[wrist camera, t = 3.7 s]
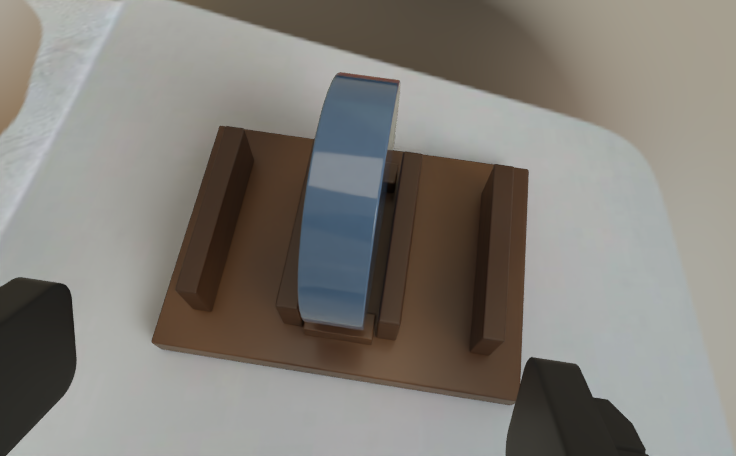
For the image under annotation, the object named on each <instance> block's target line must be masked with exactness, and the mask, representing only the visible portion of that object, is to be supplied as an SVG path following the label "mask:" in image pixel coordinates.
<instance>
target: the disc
mask: <svg viewBox="0 0 736 456" xmlns="http://www.w3.org/2000/svg"><path fill="white" fill-rule="evenodd" d="M399 98H400V81H399V80H395V79H387V78H380V77H372V76H365V75H358V74H350V73H343V72H340V73H337V74H336V75H335V77H334V79H333V80H332V82H331V84H330V87H329V89H328V92H327V95H326V98H325V101H324V104H323V108H322V111H321V115H320V119H319V123H318V127H317V131H316V136H315V140H314V145H313V150H312V156H311V161H310V166H309V172H308V178H307V185H306V192H305V199H304V206H303V214H302V222H301V232H300V243H299V256H298V286H297V290H298V305H299V312H300V316H301V318H302V320H303V321H305V322H309V323H315V324H322V325H328V326H335V327H341V328H347V329H354V330H360V331H362V330H364V328H365V324H366V320H367V315H368V310H369V304H370V299H371V293H372V287H373V281H374V275H375V269H376V263H377V257H378V251H379V244H380V238H381V231H382V225H383V218H384V211H385V204H386V198H387V191H388V184H389V177H390V170H391V162H392V155H393V147H394V140H395V132H396V124H397V116H398V107H399Z"/></svg>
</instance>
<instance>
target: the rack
mask: <svg viewBox="0 0 736 456" xmlns="http://www.w3.org/2000/svg"><path fill="white" fill-rule="evenodd" d="M314 140H315V139H309V138H302V137H295V136H288V135H281V134H274V133H267V132H260V131H253V130H246V129H243V128H236V127H229V126H226V127H225V126H220V127H219V130H218V133H217V136H216V139H215V142H214V146H213V149H212V152H211V155H210V158H209V161H208V164H207V168H206V171H205V174H204V177H203V180H202V183H201V187H200V190H199V193H198V196H197V199H196V202H195V205H194V209H193V212H192V215H191V218H190V221H189V224H188V228H187V231H186V234H185V237H184V240H183V243H182V247H181V250H180V253H179V256H178V259H177V262H176V265H175V269H174V272H173V275H172V278H171V281H170V284H169V288H168V291H167V294H166V297H165V300H164V303H163V306H162V310H161V313H160V316H159V319H158V322H157V325H156V329H155V332H154V335H153V338H152V343H153V344H155V345H156V346H158V347H159V348H161V349H164V350H170V351H176V352H182V353H189V354H195V355H201V356H207V357H213V358H220V359H226V360H232V361H238V362H245V363H251V364H257V365H263V366H269V367H276V368H282V369H288V370H294V371H300V372H307V373H313V374H319V375H325V376H331V377H338V378H344V379H350V380H356V381H363V382H369V383H375V384H381V385H387V386H394V387H400V388H406V389H412V390H418V391H425V392H431V393H437V394H443V395H449V396H456V397H462V398H468V399H474V400H481V401H487V402H493V403H499V404H505V405H512V404H515V402H516V399H517V395H518V391H519V387H520V377H521V351H522V326H523V301H524V276H525V250H526V225H527V200H528V175H529V171H528V170H527V169H521V168H514V167H512V166H504V165H497V164H495V165H493V164H486V163H479V162H472V161H465V160H458V159H451V158H444V157H436V156H429V155H422V154H418V153H411V152H401V151H394V150H393V155H392V162H391V170H390V177H389V184H388V191H387V198H386V204H385V211H384V218H383V225H382V231H381V238H380V244H379V251H378V257H377V263H376V269H375V275H374V281H373V287H372V293H371V299H370V304H369V310H368V315H367V320H366V324H365V328H364V330H362V331H360V330H354V329H347V328H341V327H335V326H328V325H322V324H315V323H309V322H305V321H303V320H302V318H301V316H300V312H299V305H298V290H297V286H298V256H299V243H300V232H301V222H302V214H303V206H304V199H305V192H306V185H307V178H308V172H309V166H310V161H311V156H312V150H313V145H314Z"/></svg>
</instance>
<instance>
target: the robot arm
mask: <svg viewBox="0 0 736 456" xmlns="http://www.w3.org/2000/svg"><path fill="white" fill-rule="evenodd" d="M75 370H76V346H75V334H74V321H73V308H72V297H71V293H70V290H69V288H68V287H67V286H66V285H64V284H61V283H55V282H49V281H42V280H36V279H29V278H23V277H18V278H15V279H13V280H11V281H9V282H8V283H6V284H5V285H3V286H1V287H0V456H6V455H7V454H8V453H9V452H10V451H11V450H12V449H13V448H14V447H15V446H16V445H17V444H18V443H19V441H20V440H21V439H22V438H23V437H24V436H25V435H26V434H27V433H28V432H29V431H30V430H31V429H32V428H33V427H34V426H35V425H36V424H37V423H38V422H39V421H40V420H41V419H42V418H43V417H44V415H45V414H46V413H47V412H48V411H49V410H50V409H51V408H52V407H53V406H54V405H55V404H56V403H57V402H58V401H59V400H60V399H61V398H62V397H63V396H64V394H65V393H66V392H67V390H68V388H69V386H70V384H71V382H72V380H73V377H74V374H75ZM645 450H646V449H645V447H644V445H643V444H642V442H641V440H640V438H639V436H638V434H637V432H636V430H635V428H634V426H633V424H632V423H631V422H630V421H629V420H628V419H627V418H626V417H625V416H624V415H623V414H622V413H621V412H620V411H619V410H618V409H617V408H616V407H615V406H614V405H613V404H612V403H611V402H610V401H608V400H606V399H600V398H593V396H592V394H591V392H590V390H589V388H588V385H587V383H586V381H585V379H584V377H583V374H582V372H581V370H580V368H579V366H578V365H576V364H573V363H566V362H560V361H553V360H547V359H540V358H534V357H531V358H529V360H528V361H527V363H526V365H525V368H524V372H523V376H522V380H521V383H520V387H519V391H518V395H517V399H516V402H515V406H514V410H513V414H512V418H511V422H510V425H509V429H508V434H507V441H506V456H649V455H647V454H645Z"/></svg>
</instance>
